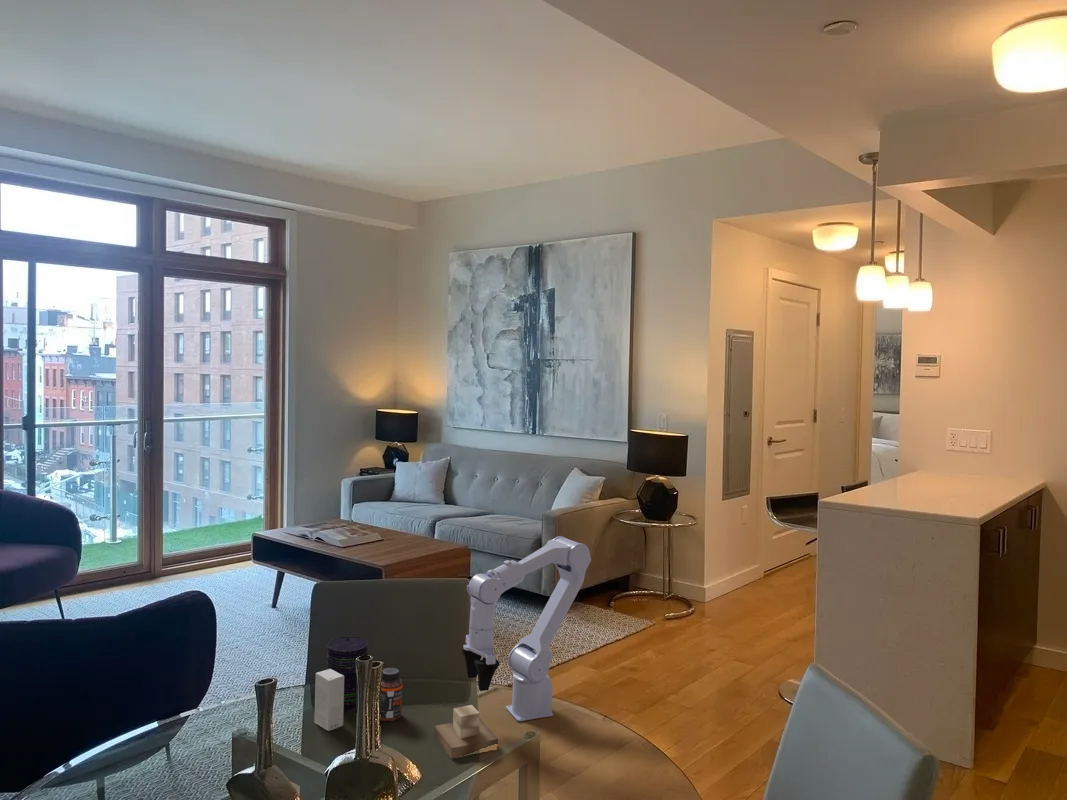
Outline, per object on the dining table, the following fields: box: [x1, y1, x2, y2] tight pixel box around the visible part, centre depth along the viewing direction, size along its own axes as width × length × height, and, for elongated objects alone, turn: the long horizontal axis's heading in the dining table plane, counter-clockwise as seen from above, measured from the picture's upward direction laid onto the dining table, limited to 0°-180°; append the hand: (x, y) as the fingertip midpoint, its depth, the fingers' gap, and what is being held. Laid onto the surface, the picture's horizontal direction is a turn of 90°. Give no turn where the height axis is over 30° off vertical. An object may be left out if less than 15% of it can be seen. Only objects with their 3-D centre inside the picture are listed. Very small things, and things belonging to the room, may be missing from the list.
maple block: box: [452, 704, 480, 739], centre depth 178 cm, size 4×4×5 cm
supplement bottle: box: [380, 667, 403, 722], centre depth 189 cm, size 6×6×11 cm
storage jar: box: [326, 636, 369, 713], centre depth 196 cm, size 10×10×15 cm
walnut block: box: [433, 717, 499, 760], centre depth 178 cm, size 11×11×3 cm
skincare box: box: [313, 668, 344, 732], centre depth 184 cm, size 6×4×12 cm
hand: (477, 683), depth 186 cm, fingers open, 7 cm apart
